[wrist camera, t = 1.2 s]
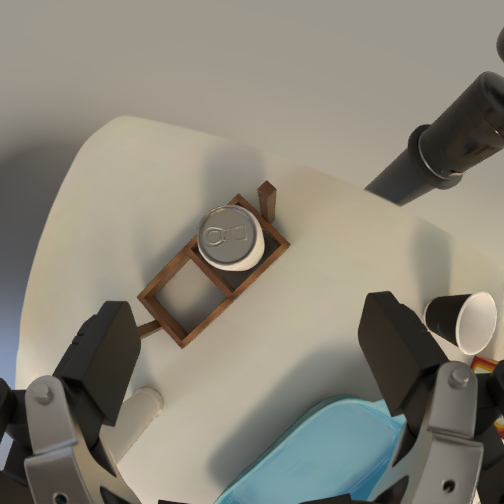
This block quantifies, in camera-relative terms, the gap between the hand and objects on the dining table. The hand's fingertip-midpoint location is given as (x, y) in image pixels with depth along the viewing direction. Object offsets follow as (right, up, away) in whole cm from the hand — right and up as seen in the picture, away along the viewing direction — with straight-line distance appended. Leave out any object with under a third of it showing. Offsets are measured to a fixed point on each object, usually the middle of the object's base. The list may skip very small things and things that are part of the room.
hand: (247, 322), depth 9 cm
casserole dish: (+10, -33, +25) cm, 43 cm away
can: (-1, +3, +29) cm, 29 cm away
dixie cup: (+28, -7, +26) cm, 39 cm away
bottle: (-16, -21, +28) cm, 38 cm away
